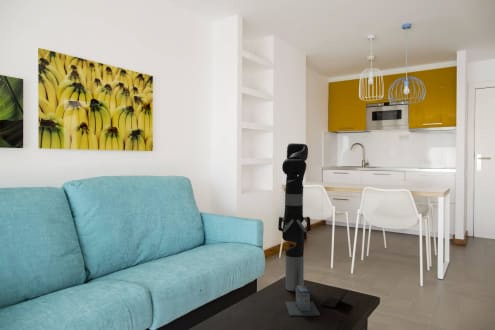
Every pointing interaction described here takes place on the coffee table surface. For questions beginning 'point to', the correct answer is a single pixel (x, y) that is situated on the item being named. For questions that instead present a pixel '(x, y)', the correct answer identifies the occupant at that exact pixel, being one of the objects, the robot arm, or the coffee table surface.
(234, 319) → the coffee table surface
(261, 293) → the coffee table surface
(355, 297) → the coffee table surface
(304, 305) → the medicine box
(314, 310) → the rubber mat
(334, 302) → the handheld gaming console
